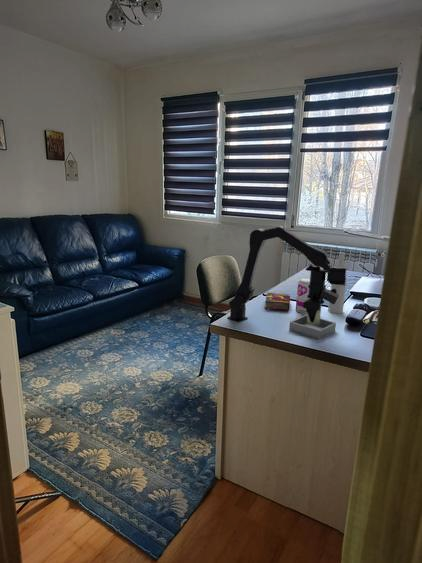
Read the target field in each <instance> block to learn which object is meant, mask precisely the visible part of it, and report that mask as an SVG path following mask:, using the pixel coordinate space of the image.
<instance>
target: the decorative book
mask: <svg viewBox="0 0 422 563" xmlns="http://www.w3.org/2000/svg"><path fill="white" fill-rule="evenodd" d="M265 296H266V297H265V307H264V309H265V310H267V311H271V310H272V311H274V310H275V311H286V312H289V310H290V306H291V305H290V303H291V300H290V299H291V295H290V294H288V293H287V294H285V293H275V292H268V291H267V293H266V295H265Z"/></svg>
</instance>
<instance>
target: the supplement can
mask: <svg viewBox="0 0 422 563" xmlns="http://www.w3.org/2000/svg"><path fill="white" fill-rule="evenodd" d="M309 283H310V278H308V277H307V278H306V277H305V278H302V277H301V278H299V280H298V282H297V291H296V300H295V301H296V302H295V310H296V311H297V312H298V313H301V314H307V311H306V308H303V303H304V301H305V300H307V299H310V298H307V295H308V293H309V288H308V285H309Z"/></svg>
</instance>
